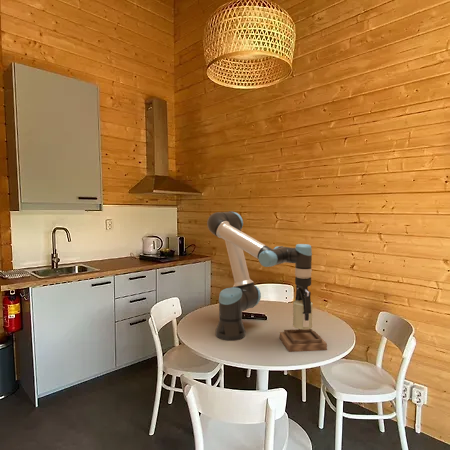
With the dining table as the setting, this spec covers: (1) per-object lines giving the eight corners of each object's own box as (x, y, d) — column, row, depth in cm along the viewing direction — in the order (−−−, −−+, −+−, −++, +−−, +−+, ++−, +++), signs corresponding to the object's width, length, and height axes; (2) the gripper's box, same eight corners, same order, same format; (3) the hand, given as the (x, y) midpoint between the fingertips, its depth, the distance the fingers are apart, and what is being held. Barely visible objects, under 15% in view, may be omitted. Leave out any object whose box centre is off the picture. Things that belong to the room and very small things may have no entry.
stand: (288, 351, 158) (289, 342, 158) (279, 338, 174) (279, 329, 173) (326, 349, 160) (327, 340, 160) (314, 336, 176) (314, 327, 175)
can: (309, 322, 171) (309, 298, 170) (314, 329, 162) (315, 304, 161) (290, 322, 171) (291, 298, 170) (295, 329, 161) (295, 304, 161)
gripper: (319, 281, 154) (318, 331, 156) (303, 272, 176) (302, 315, 177) (303, 282, 154) (302, 331, 155) (288, 272, 175) (288, 316, 176)
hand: (302, 323), depth 166 cm, fingers closed on can, 9 cm apart
